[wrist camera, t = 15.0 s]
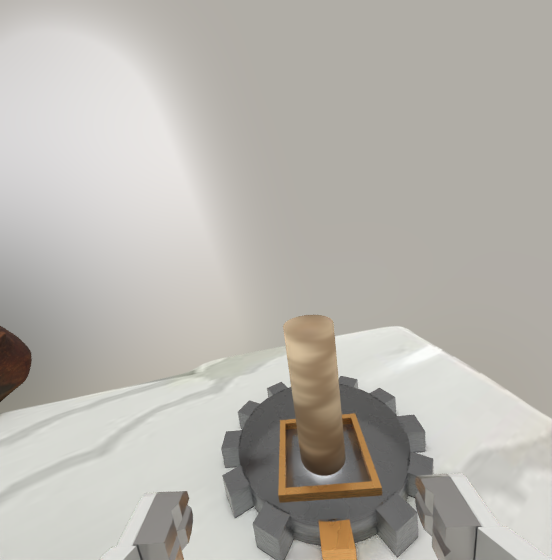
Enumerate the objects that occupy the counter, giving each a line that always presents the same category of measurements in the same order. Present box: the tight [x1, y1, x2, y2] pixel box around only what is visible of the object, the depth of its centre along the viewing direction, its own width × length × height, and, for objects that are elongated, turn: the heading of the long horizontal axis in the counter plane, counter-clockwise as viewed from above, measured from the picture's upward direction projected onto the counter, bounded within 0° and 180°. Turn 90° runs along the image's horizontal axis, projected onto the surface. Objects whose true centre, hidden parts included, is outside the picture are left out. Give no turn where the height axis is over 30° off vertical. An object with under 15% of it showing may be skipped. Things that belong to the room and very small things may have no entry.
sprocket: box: [222, 376, 433, 560], centre depth 30 cm, size 22×22×3 cm
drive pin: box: [283, 315, 346, 476], centre depth 25 cm, size 4×4×14 cm
